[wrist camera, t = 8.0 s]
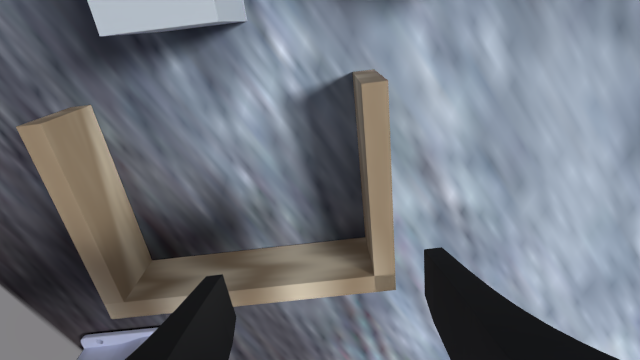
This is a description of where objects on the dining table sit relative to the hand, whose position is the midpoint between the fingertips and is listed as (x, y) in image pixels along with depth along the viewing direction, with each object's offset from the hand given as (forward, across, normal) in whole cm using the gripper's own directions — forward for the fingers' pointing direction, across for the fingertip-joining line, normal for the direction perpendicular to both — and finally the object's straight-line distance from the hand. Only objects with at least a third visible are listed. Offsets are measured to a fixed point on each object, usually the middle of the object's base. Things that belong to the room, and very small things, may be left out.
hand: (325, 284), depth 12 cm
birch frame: (+10, +5, 0) cm, 11 cm away
